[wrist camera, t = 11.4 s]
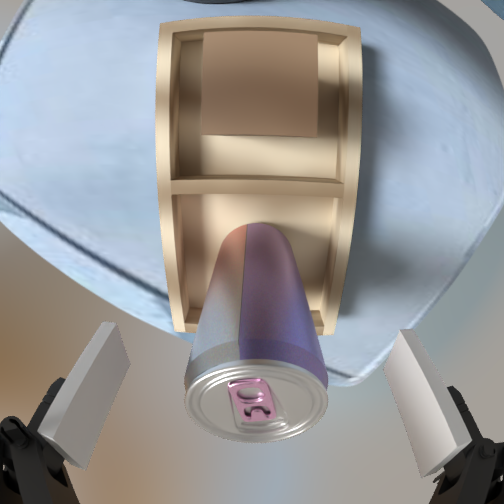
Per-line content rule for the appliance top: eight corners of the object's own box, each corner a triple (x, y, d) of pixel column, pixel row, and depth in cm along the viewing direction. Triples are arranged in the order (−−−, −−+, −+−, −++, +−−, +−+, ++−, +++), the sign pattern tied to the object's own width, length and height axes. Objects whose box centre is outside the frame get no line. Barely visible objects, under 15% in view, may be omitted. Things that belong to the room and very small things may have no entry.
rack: (172, 36, 17) (160, 23, 14) (347, 40, 17) (360, 27, 14) (182, 310, 27) (174, 331, 24) (326, 313, 27) (333, 334, 24)
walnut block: (225, 72, 18) (203, 32, 9) (293, 74, 18) (317, 35, 9) (224, 135, 20) (201, 135, 11) (292, 137, 20) (316, 137, 11)
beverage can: (285, 213, 22) (331, 346, 8) (296, 279, 24) (333, 434, 10) (211, 228, 22) (153, 369, 9) (229, 292, 25) (207, 448, 11)
